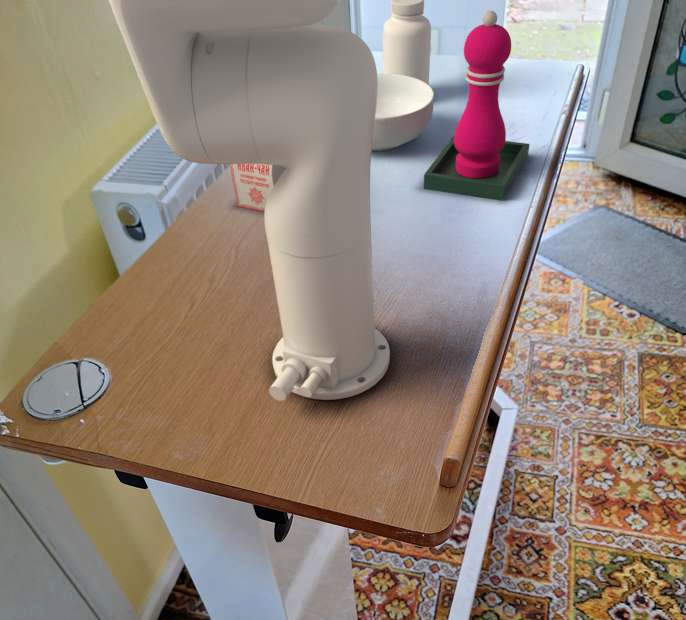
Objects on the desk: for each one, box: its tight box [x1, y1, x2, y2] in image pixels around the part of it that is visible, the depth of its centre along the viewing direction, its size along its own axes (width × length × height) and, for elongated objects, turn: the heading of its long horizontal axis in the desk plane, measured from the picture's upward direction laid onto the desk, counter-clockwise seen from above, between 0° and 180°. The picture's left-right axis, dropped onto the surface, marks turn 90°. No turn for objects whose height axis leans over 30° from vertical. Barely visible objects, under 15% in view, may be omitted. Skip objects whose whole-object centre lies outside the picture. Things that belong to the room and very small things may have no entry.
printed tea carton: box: [229, 164, 286, 213], centre depth 93 cm, size 4×7×10 cm, turn 63°
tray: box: [423, 134, 531, 201], centre depth 98 cm, size 14×12×2 cm
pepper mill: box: [453, 10, 512, 179], centre depth 91 cm, size 7×7×20 cm
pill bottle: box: [382, 0, 432, 86], centre depth 113 cm, size 8×8×15 cm
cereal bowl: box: [371, 73, 435, 152], centre depth 105 cm, size 17×17×7 cm
